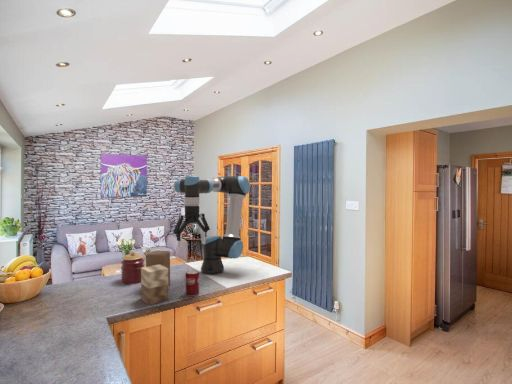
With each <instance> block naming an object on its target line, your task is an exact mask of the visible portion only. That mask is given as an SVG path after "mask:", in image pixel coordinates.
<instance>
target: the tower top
mask: <svg viewBox="0 0 512 384" xmlns="http://www.w3.org/2000/svg"><path fill="white" fill-rule="evenodd" d="M141 284H143V285H144V286H146V287H147V288H148V289H150V288H154V287H158V286H163V285H167V284H168V268H166V267H164V266H162V265H160V264H159V265H153V266H148V267H146V266H144V267H142V268H141V282H140V285H141Z"/></svg>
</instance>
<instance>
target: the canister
mask: <svg viewBox="0 0 512 384" xmlns="http://www.w3.org/2000/svg"><path fill="white" fill-rule="evenodd" d="M144 262H145V259H144V256H143V255H142V254H140V253H136V252H135V251H131V252H130V254H129V253H128V254H126V255H125V256H123V257H122V261H121V262H120V264H121V277H120V278H121V283H122V284H125V285H130V284H131V285H132V284H133V285H134V284H138V283H141V268H142V267H145V264H144Z"/></svg>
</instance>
